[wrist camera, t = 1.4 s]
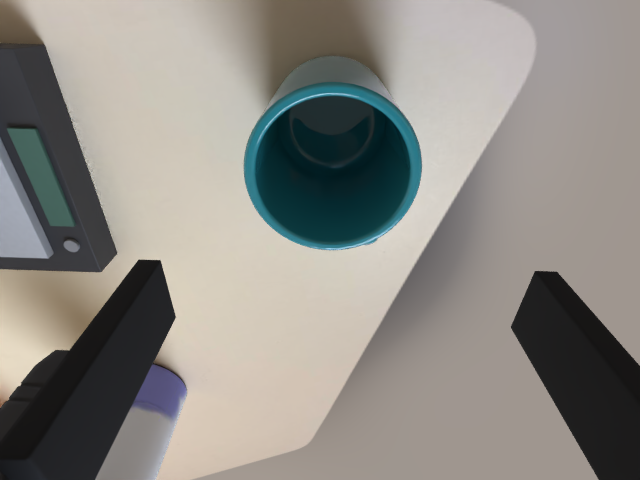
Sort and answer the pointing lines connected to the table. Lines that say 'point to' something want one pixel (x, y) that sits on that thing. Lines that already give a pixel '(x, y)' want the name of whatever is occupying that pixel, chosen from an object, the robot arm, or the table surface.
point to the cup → (332, 157)
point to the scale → (44, 174)
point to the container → (146, 428)
